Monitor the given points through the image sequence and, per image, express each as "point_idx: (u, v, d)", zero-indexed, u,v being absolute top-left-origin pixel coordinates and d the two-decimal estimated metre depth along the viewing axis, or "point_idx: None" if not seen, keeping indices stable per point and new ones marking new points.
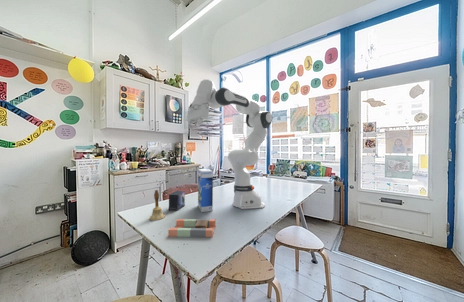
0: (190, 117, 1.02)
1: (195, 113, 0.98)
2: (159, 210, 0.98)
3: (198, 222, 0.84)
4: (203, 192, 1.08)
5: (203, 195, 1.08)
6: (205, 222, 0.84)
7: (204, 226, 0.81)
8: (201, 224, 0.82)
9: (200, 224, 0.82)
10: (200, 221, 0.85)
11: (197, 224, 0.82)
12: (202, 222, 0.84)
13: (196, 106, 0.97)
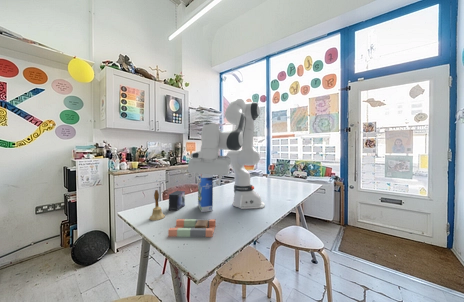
0: (198, 171, 0.82)
1: (209, 168, 0.82)
2: (159, 210, 0.98)
3: (198, 222, 0.84)
4: (203, 192, 1.08)
5: (203, 195, 1.08)
6: (205, 222, 0.84)
7: (204, 226, 0.81)
8: (201, 224, 0.82)
9: (200, 224, 0.82)
10: (200, 221, 0.85)
11: (197, 224, 0.82)
12: (202, 222, 0.84)
13: (210, 160, 0.81)
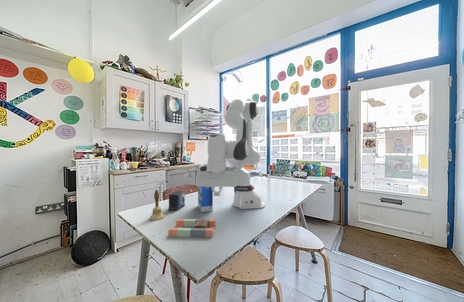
0: (207, 184, 0.82)
1: (218, 180, 0.81)
2: (159, 210, 0.98)
3: (198, 222, 0.84)
4: (203, 192, 1.08)
5: (203, 195, 1.08)
6: (205, 222, 0.84)
7: (204, 226, 0.81)
8: (201, 224, 0.82)
9: (200, 224, 0.82)
10: (200, 221, 0.85)
11: (197, 224, 0.82)
12: (202, 222, 0.84)
13: (219, 172, 0.80)
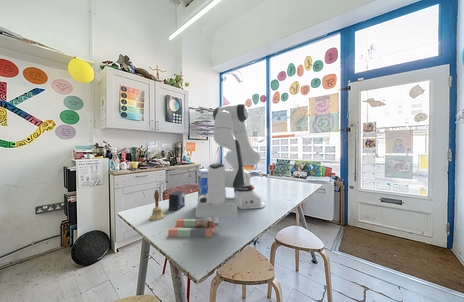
0: (207, 215, 0.82)
1: (218, 211, 0.82)
2: (159, 210, 0.98)
3: (198, 222, 0.84)
4: (203, 192, 1.08)
5: None
6: (205, 222, 0.84)
7: (204, 226, 0.81)
8: (200, 224, 0.82)
9: (200, 224, 0.82)
10: (200, 221, 0.85)
11: (197, 224, 0.82)
12: (202, 222, 0.84)
13: (219, 204, 0.81)
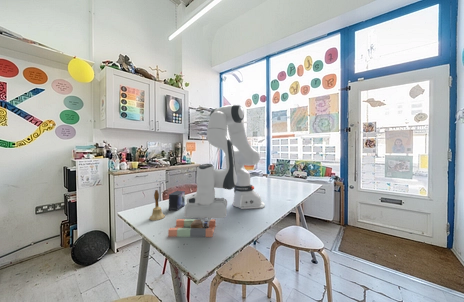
0: (196, 215, 0.82)
1: (207, 212, 0.82)
2: (159, 210, 0.98)
3: (194, 221, 0.84)
4: None
5: None
6: (201, 222, 0.84)
7: (199, 226, 0.81)
8: (196, 223, 0.82)
9: (196, 223, 0.82)
10: (196, 220, 0.85)
11: (193, 223, 0.82)
12: (198, 222, 0.84)
13: (208, 204, 0.81)
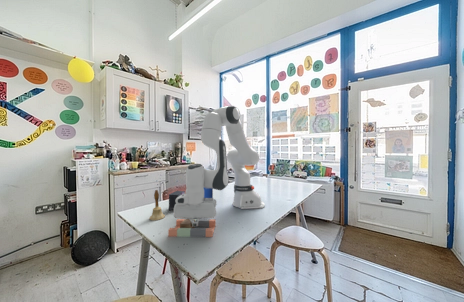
0: (185, 215, 0.82)
1: (196, 212, 0.82)
2: (159, 210, 0.98)
3: (184, 221, 0.85)
4: None
5: None
6: None
7: (188, 225, 0.81)
8: (186, 223, 0.83)
9: (185, 223, 0.83)
10: (187, 220, 0.86)
11: (182, 223, 0.83)
12: (188, 221, 0.84)
13: (197, 204, 0.81)
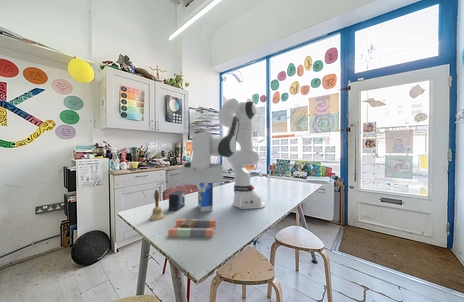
0: (191, 180, 0.82)
1: (203, 176, 0.82)
2: (159, 210, 0.98)
3: (184, 221, 0.85)
4: (203, 192, 1.08)
5: (203, 195, 1.08)
6: (191, 221, 0.85)
7: (189, 225, 0.81)
8: (186, 223, 0.83)
9: (185, 223, 0.83)
10: (187, 220, 0.86)
11: (182, 223, 0.83)
12: (188, 222, 0.85)
13: (203, 169, 0.81)
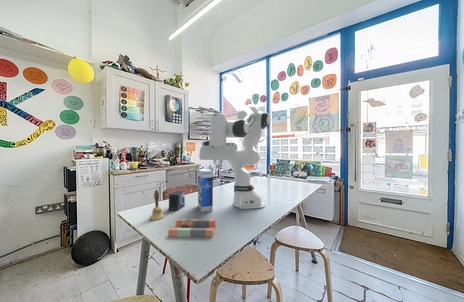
0: (209, 157, 0.92)
1: (219, 154, 0.92)
2: (159, 210, 0.98)
3: (184, 221, 0.85)
4: (203, 192, 1.08)
5: (203, 195, 1.08)
6: (191, 221, 0.85)
7: (189, 225, 0.82)
8: (186, 223, 0.83)
9: (185, 223, 0.83)
10: (186, 220, 0.86)
11: (183, 223, 0.83)
12: (188, 222, 0.85)
13: (220, 147, 0.91)
